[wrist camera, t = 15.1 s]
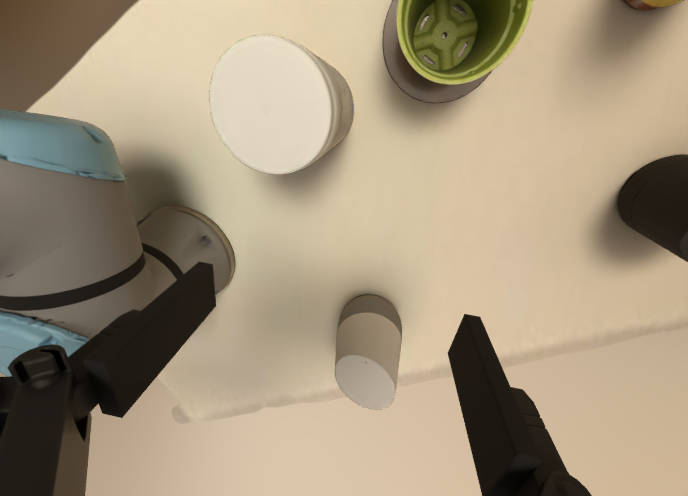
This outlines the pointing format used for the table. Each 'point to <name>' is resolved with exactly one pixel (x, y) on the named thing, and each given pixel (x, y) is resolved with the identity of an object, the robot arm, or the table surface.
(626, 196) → the pen holder
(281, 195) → the table surface
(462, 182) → the table surface
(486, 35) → the plant pot
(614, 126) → the table surface
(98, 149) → the robot arm
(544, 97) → the table surface
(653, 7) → the sauce bottle
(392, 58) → the coaster
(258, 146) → the supplement tub
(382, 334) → the smart speaker
